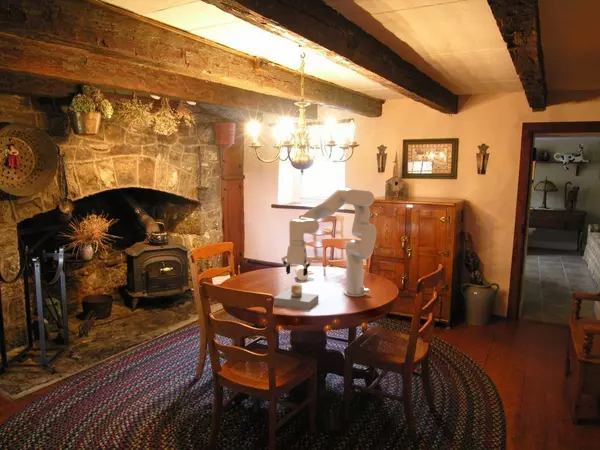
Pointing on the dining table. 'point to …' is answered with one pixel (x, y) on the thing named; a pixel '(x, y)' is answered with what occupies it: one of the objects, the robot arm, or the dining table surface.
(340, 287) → the dining table surface
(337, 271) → the dining table surface
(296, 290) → the maple peg
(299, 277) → the mug
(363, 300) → the dining table surface
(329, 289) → the dining table surface
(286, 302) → the grey block with hole
